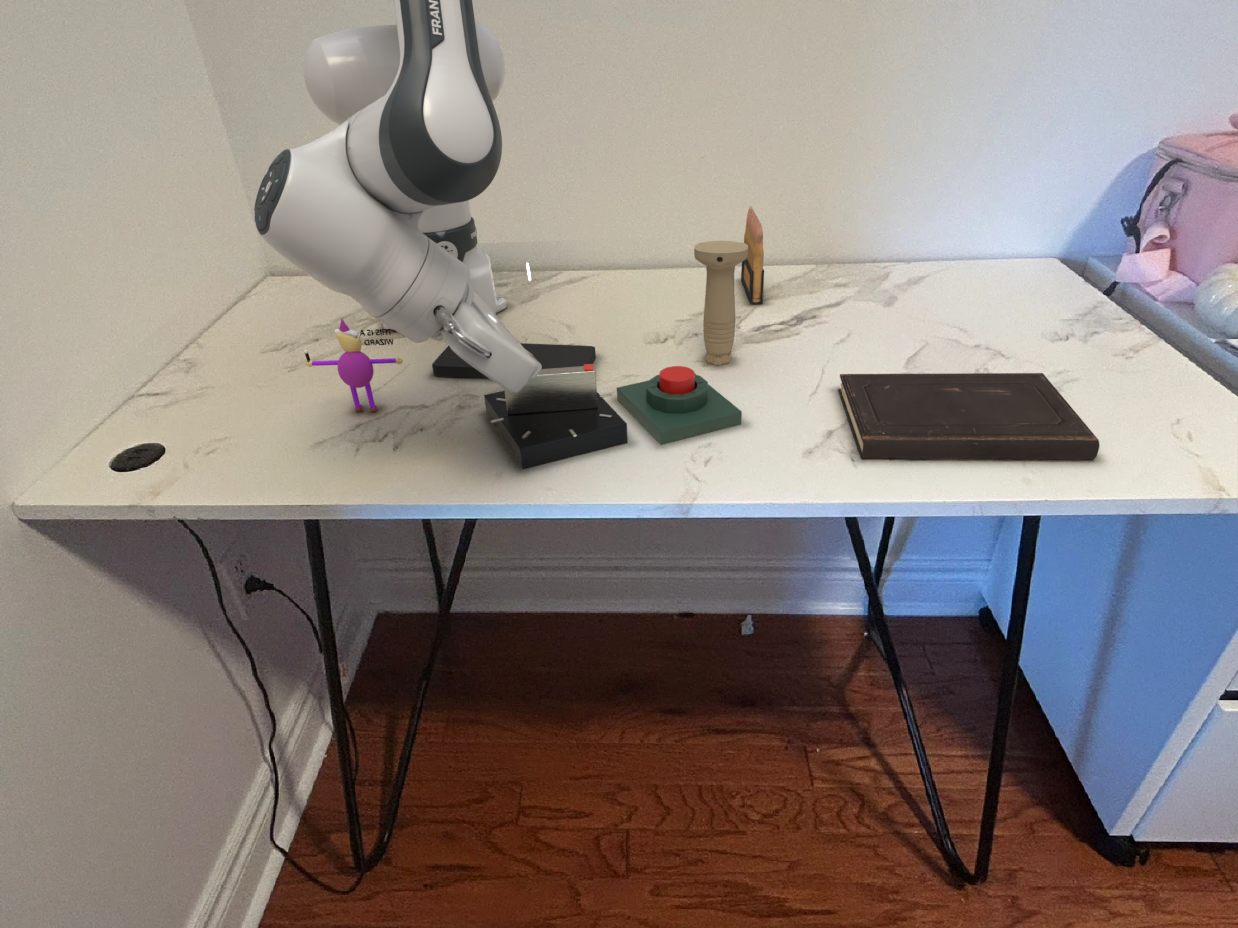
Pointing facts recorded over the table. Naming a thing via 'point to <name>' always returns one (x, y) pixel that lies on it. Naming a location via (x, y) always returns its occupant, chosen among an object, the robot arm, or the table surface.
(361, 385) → the wizard figurine
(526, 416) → the control panel
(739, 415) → the button box
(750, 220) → the ammunition clip
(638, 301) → the table surface
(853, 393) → the hardcover book
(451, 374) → the smart home device
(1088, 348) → the table surface
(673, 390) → the button
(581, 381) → the knob
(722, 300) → the handle
